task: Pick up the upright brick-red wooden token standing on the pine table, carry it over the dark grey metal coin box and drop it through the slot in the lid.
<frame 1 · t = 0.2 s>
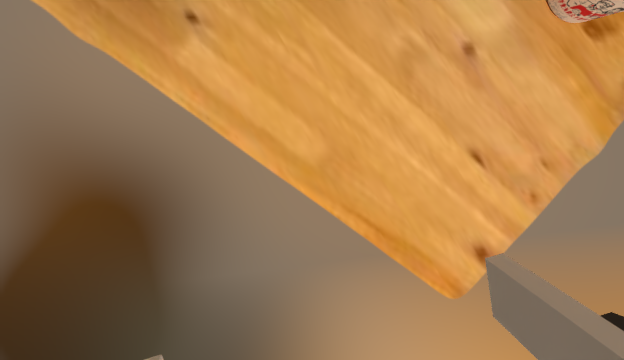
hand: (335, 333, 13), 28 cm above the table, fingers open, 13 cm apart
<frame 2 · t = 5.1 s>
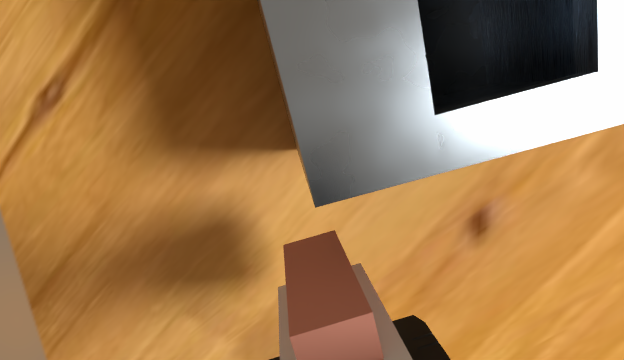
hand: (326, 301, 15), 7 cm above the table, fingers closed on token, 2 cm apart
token: (323, 289, 16), point 7 cm above the table, touching gripper
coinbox: (379, 21, 19), on the table
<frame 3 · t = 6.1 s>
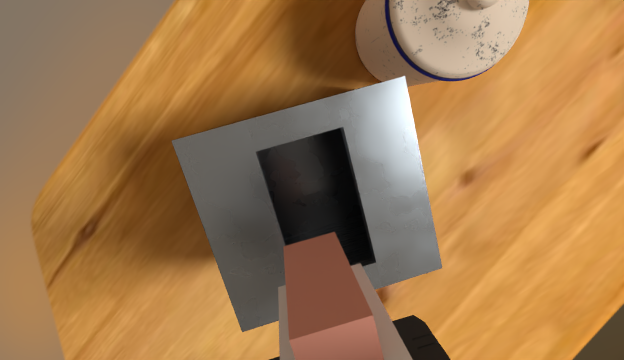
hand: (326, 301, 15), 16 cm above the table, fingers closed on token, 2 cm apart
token: (323, 290, 16), point 15 cm above the table, touching gripper
teacup with lid: (407, 19, 28), on the table
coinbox: (301, 175, 30), on the table
when the fingers open (12 cm above the table, at t = 7.2 s): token drops 10 cm and tips over, resting on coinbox.
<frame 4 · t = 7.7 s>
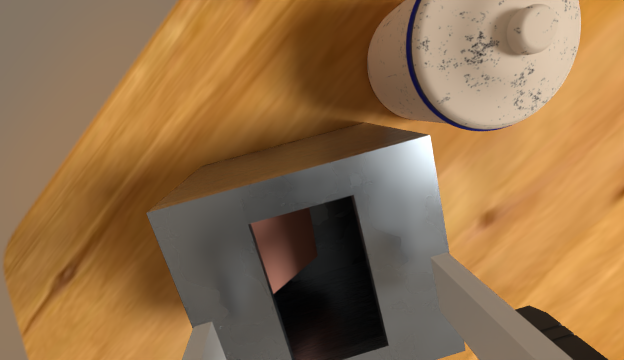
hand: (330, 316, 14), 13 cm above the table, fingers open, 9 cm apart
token: (299, 221, 25), point 2 cm above the table, tilted 41°, touching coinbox
teacup with lid: (427, 43, 25), on the table
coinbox: (303, 215, 27), on the table
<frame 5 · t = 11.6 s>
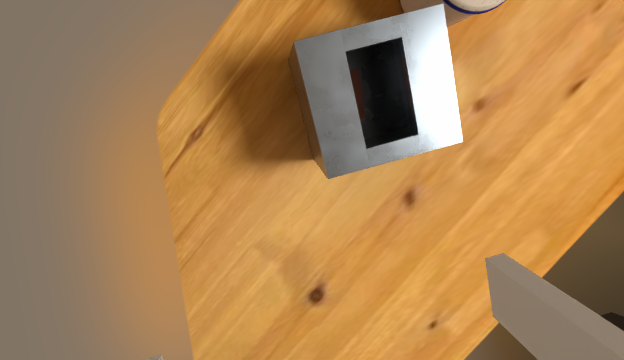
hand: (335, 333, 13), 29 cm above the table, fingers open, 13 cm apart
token: (352, 95, 38), point 2 cm above the table, tilted 41°, touching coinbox
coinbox: (353, 97, 39), on the table
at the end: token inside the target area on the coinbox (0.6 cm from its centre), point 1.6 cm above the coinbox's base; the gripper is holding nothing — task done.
